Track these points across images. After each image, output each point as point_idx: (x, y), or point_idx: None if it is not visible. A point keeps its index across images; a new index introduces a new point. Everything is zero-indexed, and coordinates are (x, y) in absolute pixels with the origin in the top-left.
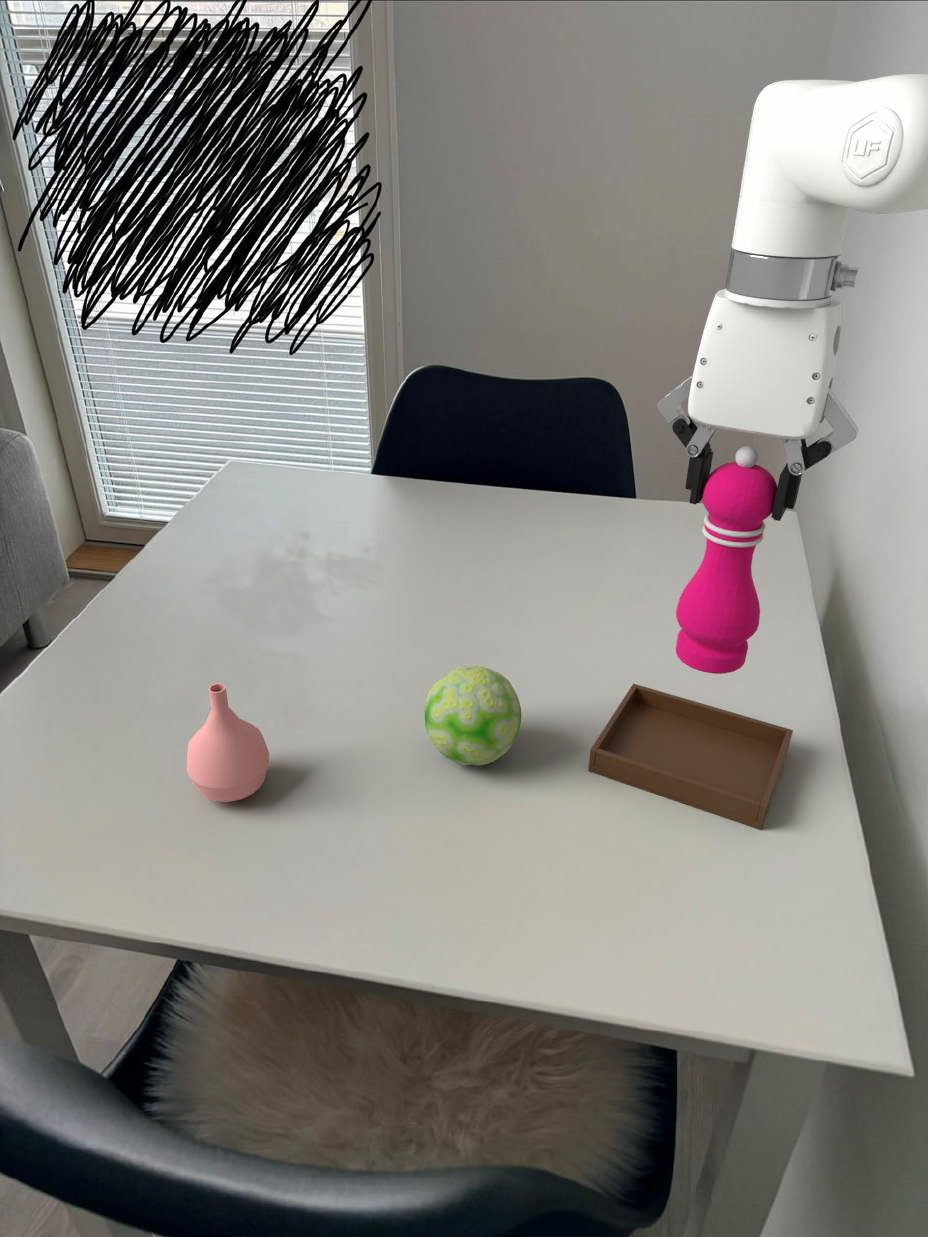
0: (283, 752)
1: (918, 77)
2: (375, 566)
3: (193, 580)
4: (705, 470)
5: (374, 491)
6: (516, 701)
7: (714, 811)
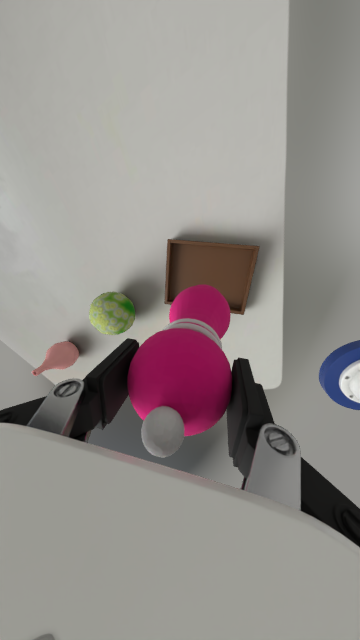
0: (71, 329)
1: None
2: None
3: None
4: (118, 397)
5: None
6: (124, 314)
7: None
